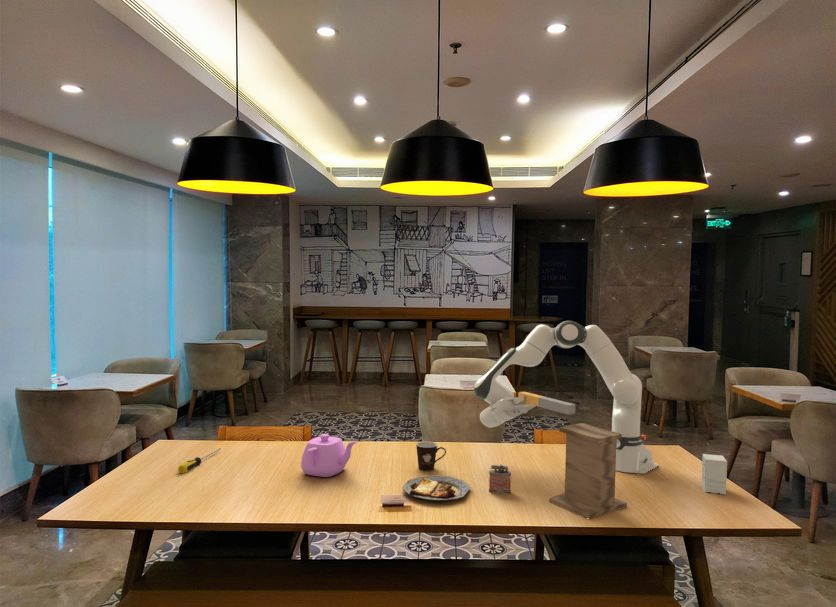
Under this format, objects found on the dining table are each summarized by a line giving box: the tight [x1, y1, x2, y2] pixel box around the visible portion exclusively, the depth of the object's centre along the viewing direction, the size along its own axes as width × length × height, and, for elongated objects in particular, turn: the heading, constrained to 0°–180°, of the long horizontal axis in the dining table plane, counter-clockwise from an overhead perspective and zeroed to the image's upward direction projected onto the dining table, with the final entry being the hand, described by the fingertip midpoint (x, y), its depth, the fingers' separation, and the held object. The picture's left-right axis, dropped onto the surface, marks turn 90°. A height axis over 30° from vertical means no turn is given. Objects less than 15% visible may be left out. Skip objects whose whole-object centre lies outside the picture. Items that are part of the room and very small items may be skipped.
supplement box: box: [701, 453, 728, 495], centre depth 211 cm, size 7×7×13 cm
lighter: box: [488, 464, 512, 495], centre depth 206 cm, size 8×3×10 cm, turn 84°
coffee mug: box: [415, 440, 447, 472], centre depth 230 cm, size 12×9×10 cm
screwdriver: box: [177, 447, 221, 474], centre depth 235 cm, size 3×3×30 cm
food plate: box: [402, 475, 471, 502], centre depth 205 cm, size 25×23×4 cm
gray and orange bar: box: [517, 391, 576, 416], centre depth 213 cm, size 3×26×3 cm, turn 33°
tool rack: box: [549, 422, 628, 519], centre depth 196 cm, size 20×17×26 cm
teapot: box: [300, 433, 358, 478], centre depth 222 cm, size 23×21×15 cm
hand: (529, 397), depth 220 cm, fingers closed on gray and orange bar, 3 cm apart
